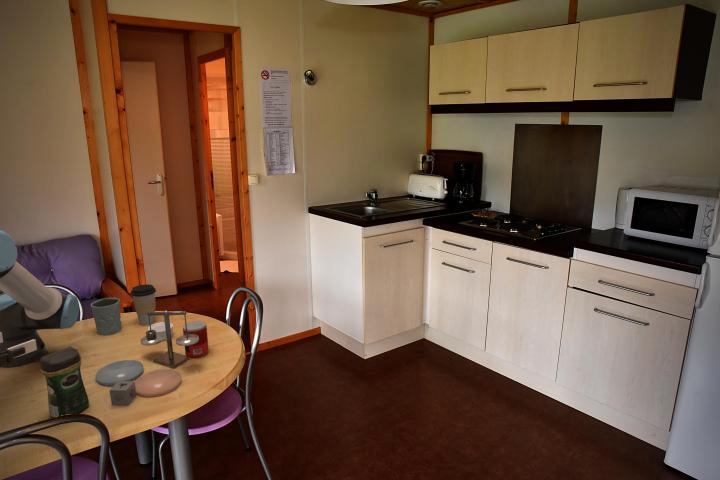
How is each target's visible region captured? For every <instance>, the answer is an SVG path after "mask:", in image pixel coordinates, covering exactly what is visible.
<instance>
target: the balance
mask: <svg viewBox="0 0 720 480" xmlns="http://www.w3.org/2000/svg"><path fill="white" fill-rule="evenodd" d="M147 315H148V317H149V325H148V327H150V330H149V331H148V330H147V331H146V332H145V336H143V337H142V338H140V344H141V345H142V346H146V347H147V346H148V347H149V346H155V345H158V344H160V343H162V342H164V341H163V336H162V335H159V334H156V331H155V330H151V325H152V324H151V323H150V316H155V317H156V316H158V317H159V316H161V317H163V320H164V321H163V322H165V330H166V338H167V340H166V346H167V347H166V348H167V351H165V352H163V353H161V354H160V355H157V356H156V357H154V358H152V363H154V364H157V365H160V366H163V367H167V368H169V369H172V370H175V369H176V368H178V367H180V366H182V365H183V364H185V363H186V362H188V361H190V360H191V358H190V356H186V354H182V353H179V352H175V351H174V347H173V339H172V337H173V336H172V337H171V328H170V323H171V321H170V320H171V319H170V316H184V325H185V327H186V335H180V336H178V337H177V338H176V340H175V344H176V345H177V346H180V347H185V346H189V345H193V344H195V343H197V342H198V341H199V336H198V335H195V334H187V324H186V323H187V311H186V310H180V311H175V310H174V311H169V310H163V311H155V312H148V313H147Z"/></svg>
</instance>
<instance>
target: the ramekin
mask: <svg viewBox="0 0 720 480" xmlns="http://www.w3.org/2000/svg"><path fill="white" fill-rule="evenodd" d="M173 327H174V325H173V323H172V322H170V328H171V337H173V334H174V333H173V332H174V330H173ZM149 330H150V326H148V328H147V331H149ZM151 330H155V331H156V334H159V335H162V336H163V341H162V342H164V341H167V338H166V330H165V321H161V322H156V323H152V324H151Z"/></svg>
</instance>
